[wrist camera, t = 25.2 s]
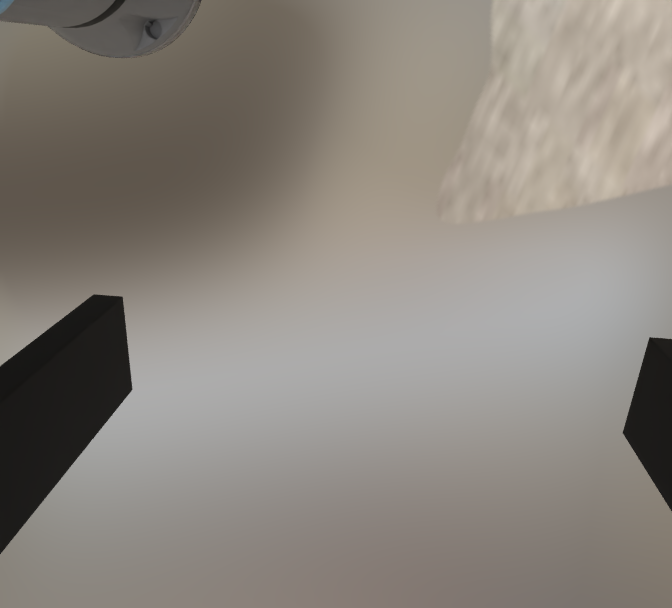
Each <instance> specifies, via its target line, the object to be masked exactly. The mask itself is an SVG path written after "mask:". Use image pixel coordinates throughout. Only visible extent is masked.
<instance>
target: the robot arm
mask: <svg viewBox="0 0 672 608" xmlns="http://www.w3.org/2000/svg"><path fill="white" fill-rule="evenodd" d="M200 3H201V0H0V21H5V22H15V23H25V24H35V25H44V26H48V27H49V28H50V29H52V30H53V31H54V32H55V33H56V34H58V35H59V36H61V37H62V38H63V39H65V40H66V41H68V42H70V43H71V44H73V45H75V46H77V47H79V48H81V49H83V50H85V51H88V52H90V53H94V54H97V55H101V56H106V57H115V58H134V57H141V56H145V55H149V54H152V53H154V52H157V51H159V50H161V49H163V48H165V47H166V46H168V45H169V44H171V43H172V42H173V41H175V40H176V39H177V38H178V37H179V36H180V35H181V34H182V33H183V32H184V31H185V29H186V28H187V27H188V25H189V24H190V23H191V21H192V19H193V18H194V16H195V14H196V12H197V10H198V8H199V6H200ZM131 390H132V382H131V373H130V363H129V354H128V345H127V334H126V325H125V315H124V306H123V297H119V296H105V295H93V296H91V297H90V298H89V299H87V300H86V301H85V302H84V303H82V304H81V305H80V306H78V307H77V308H76V309H74V310H73V311H72V312H70V313H69V314H68V315H66V316H65V317H64V318H63V319H62V320H60V321H59V322H57V323H56V324H55V325H53V326H52V327H51V328H49V329H48V330H47V331H46V332H44V333H43V334H42V335H40V336H39V337H38V338H37V339H35V340H34V341H33V342H31V343H30V344H29V345H27V346H26V347H25V348H23V349H22V350H21V351H20V352H18V353H17V354H16V355H14V356H13V357H12V358H10V359H9V360H8V361H6V362H5V363H4V364H3V365H1V366H0V554H1V552H2V551H3V550H4V549H5V548H6V546H7V545H8V544H9V542H10V541H11V540H12V539H13V537H14V536H15V535H16V534H17V533H18V531H19V530H20V529H21V528H22V526H23V525H24V524H25V523H26V521H27V520H28V519H29V518H30V516H31V515H32V514H33V513H34V511H35V510H36V509H37V508H38V506H39V505H40V504H41V503H42V501H43V500H44V499H45V498H46V496H47V495H48V494H49V493H50V491H51V490H52V489H53V488H54V487H55V485H56V484H57V483H58V482H59V480H60V479H61V478H62V477H63V475H64V474H65V473H66V471H67V470H68V469H69V467H71V465H72V464H73V463H74V462H75V460H76V459H77V458H78V457H79V455H80V454H81V453H82V451H83V450H84V449H85V448H86V447H87V445H88V444H89V443H90V442H91V440H92V439H93V438H94V437H95V435H96V434H97V433H98V432H99V430H100V429H101V428H102V427H103V425H104V424H105V423H106V422H107V421H108V419H109V418H110V417H111V416H112V414H113V413H114V412H115V411H116V409H117V408H118V407H119V406H120V404H121V403H122V402H123V400H124V399H125V398H126V397H127V396H128V394H129V393H130V392H131ZM623 434H624V435H625V437H626V439H627V440H628V442H629V444H630V445H631V447H632V448H633V450H634V452H635V453H636V455H637V456H638V458H639V460H640V461H641V462H642V464H643V466H644V468H645V469H646V471H647V472H648V474H649V476H650V477H651V479H652V480H653V482H654V483H655V485H656V487H657V488H658V490H659V492H660V493H661V495H662V496H663V498H664V500H665V501H666V503H667V504H668V506H669V508H670V509H671V511H672V339H663V338H651V337H650V338H649V341H648V345H647V348H646V352H645V355H644V359H643V363H642V366H641V370H640V373H639V377H638V380H637V384H636V387H635V391H634V395H633V398H632V402H631V406H630V409H629V412H628V416H627V420H626V423H625V427H624V430H623Z"/></svg>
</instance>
